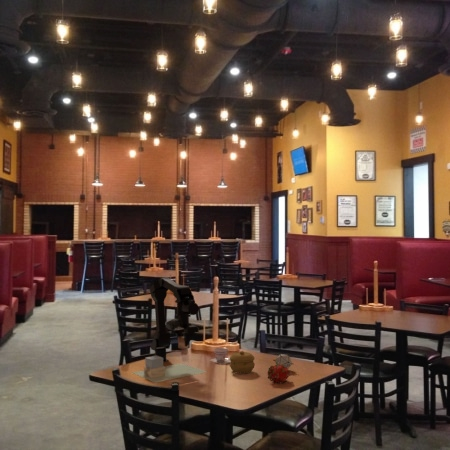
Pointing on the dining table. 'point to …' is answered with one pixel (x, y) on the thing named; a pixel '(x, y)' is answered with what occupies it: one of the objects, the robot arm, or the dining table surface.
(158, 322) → the robot arm
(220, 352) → the teacup
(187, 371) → the felt mat
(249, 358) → the pot
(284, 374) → the dragon fruit
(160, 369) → the tower base
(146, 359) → the tower top
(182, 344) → the terracotta cylinder
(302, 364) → the dining table surface
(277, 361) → the game die
